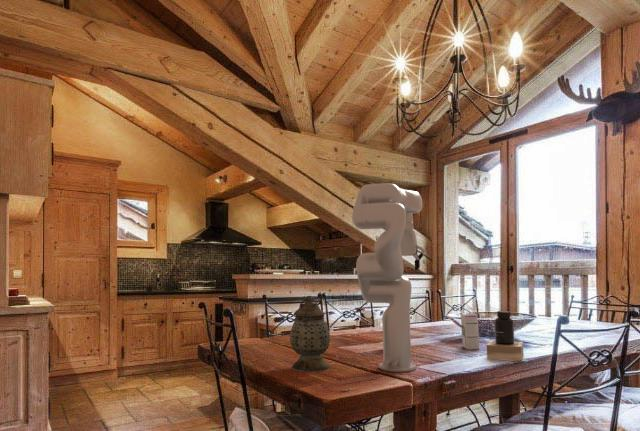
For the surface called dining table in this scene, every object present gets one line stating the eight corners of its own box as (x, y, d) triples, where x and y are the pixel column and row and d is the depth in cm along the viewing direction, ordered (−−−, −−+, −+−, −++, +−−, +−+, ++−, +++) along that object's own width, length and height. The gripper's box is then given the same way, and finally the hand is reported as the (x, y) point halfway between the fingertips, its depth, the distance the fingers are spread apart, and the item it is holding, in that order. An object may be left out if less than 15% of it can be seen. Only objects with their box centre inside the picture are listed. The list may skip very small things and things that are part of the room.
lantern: (339, 367, 166) (337, 295, 168) (309, 374, 156) (308, 297, 158) (311, 362, 176) (310, 294, 178) (281, 368, 166) (281, 296, 168)
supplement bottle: (496, 344, 179) (494, 312, 180) (494, 341, 186) (493, 310, 187) (515, 345, 177) (513, 312, 178) (513, 342, 184) (512, 310, 185)
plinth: (521, 361, 173) (521, 346, 174) (487, 358, 178) (486, 344, 179) (523, 355, 184) (522, 341, 184) (490, 353, 189) (490, 340, 189)
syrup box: (480, 349, 198) (478, 314, 200) (465, 349, 198) (464, 314, 200) (475, 347, 204) (474, 312, 205) (461, 347, 204) (460, 312, 205)
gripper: (380, 228, 194) (381, 270, 192) (422, 226, 187) (423, 270, 185) (386, 229, 201) (387, 270, 199) (427, 227, 193) (428, 270, 191)
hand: (405, 270), depth 192 cm, fingers open, 9 cm apart
